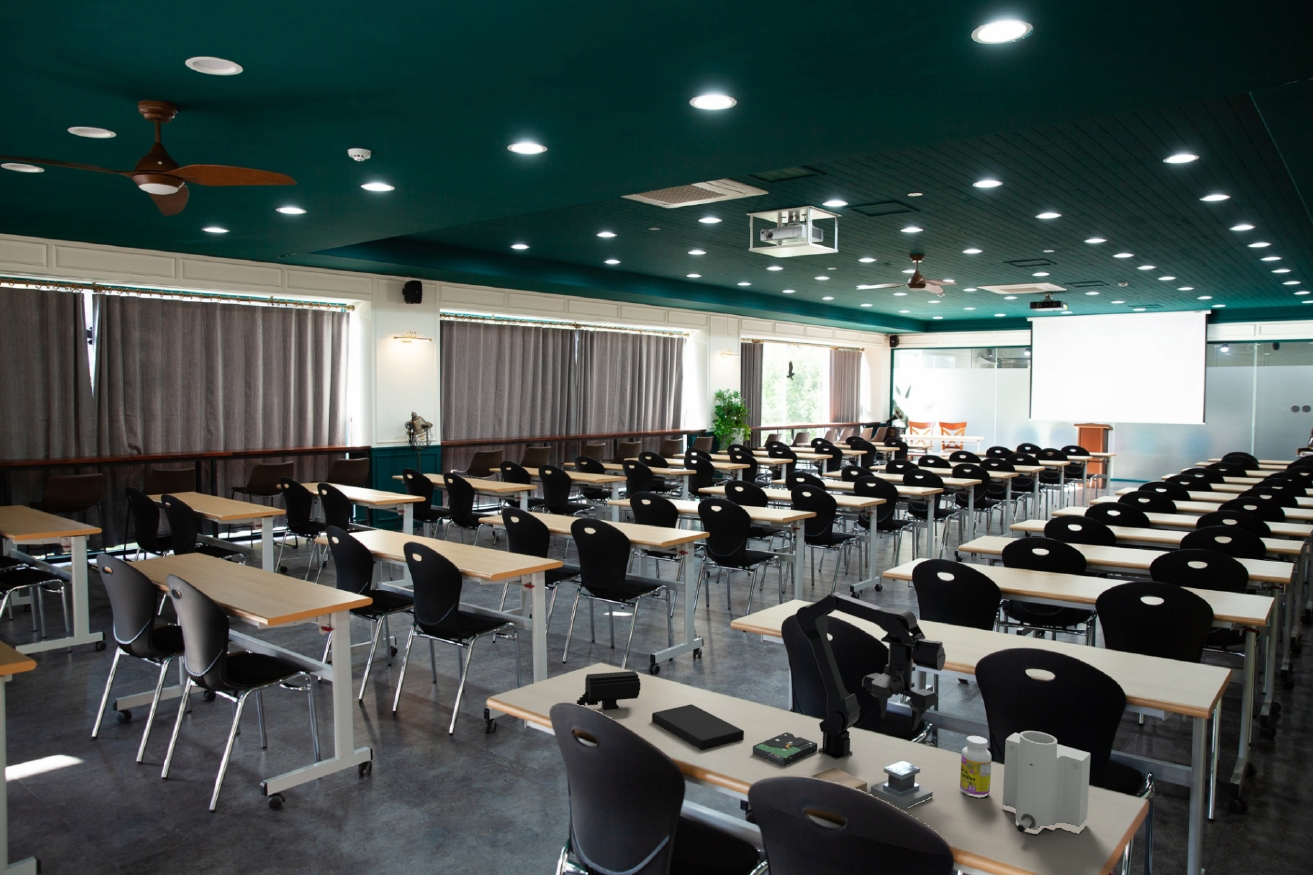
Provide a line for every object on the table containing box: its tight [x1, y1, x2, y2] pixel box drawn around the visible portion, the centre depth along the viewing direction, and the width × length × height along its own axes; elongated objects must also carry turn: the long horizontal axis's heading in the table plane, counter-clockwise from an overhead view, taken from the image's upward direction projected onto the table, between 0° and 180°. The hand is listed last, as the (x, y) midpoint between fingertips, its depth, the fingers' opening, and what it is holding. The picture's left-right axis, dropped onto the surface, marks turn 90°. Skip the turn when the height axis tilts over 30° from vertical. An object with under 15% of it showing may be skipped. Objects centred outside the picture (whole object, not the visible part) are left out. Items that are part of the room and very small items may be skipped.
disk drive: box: [752, 731, 818, 767], centre depth 222 cm, size 10×3×15 cm
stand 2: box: [869, 779, 934, 810], centre depth 199 cm, size 10×10×2 cm
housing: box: [883, 760, 921, 797], centre depth 199 cm, size 7×5×5 cm
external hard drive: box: [651, 704, 745, 752], centre depth 235 cm, size 14×23×3 cm, turn 35°
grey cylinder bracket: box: [1002, 730, 1091, 834], centre depth 185 cm, size 16×19×20 cm
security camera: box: [576, 670, 641, 711], centre depth 250 cm, size 7×18×10 cm, turn 107°
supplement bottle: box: [959, 735, 992, 795], centre depth 201 cm, size 7×7×13 cm
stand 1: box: [811, 767, 868, 792], centre depth 202 cm, size 10×8×2 cm
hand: (897, 724), depth 212 cm, fingers open, 9 cm apart
